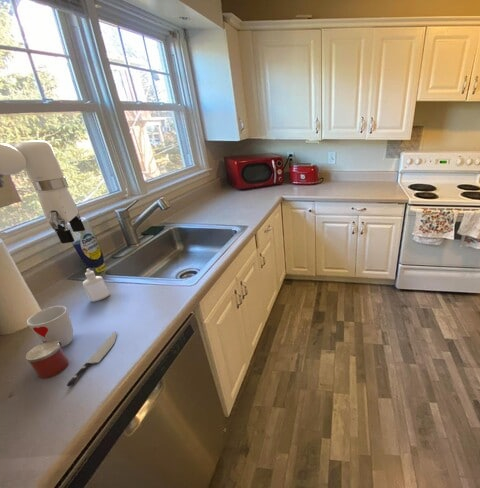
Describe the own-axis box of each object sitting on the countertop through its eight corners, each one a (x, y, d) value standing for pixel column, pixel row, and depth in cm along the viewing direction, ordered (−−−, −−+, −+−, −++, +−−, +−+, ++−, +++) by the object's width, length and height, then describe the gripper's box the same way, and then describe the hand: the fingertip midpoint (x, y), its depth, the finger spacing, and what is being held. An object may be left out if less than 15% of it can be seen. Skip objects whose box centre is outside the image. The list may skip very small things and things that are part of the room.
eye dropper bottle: (107, 299, 100) (95, 270, 94) (88, 303, 98) (75, 274, 93) (111, 292, 103) (99, 264, 98) (92, 296, 101) (79, 267, 96)
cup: (36, 348, 79) (19, 321, 75) (68, 329, 86) (54, 303, 82) (55, 356, 77) (38, 328, 72) (86, 335, 84) (73, 309, 79)
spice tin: (32, 381, 69) (20, 363, 67) (44, 363, 75) (33, 344, 72) (63, 373, 72) (52, 355, 69) (73, 356, 77) (63, 338, 74)
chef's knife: (125, 331, 85) (115, 331, 85) (124, 328, 85) (114, 328, 84) (79, 387, 68) (66, 387, 68) (77, 384, 67) (64, 384, 67)
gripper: (48, 179, 90) (70, 228, 97) (19, 193, 75) (47, 249, 83) (76, 177, 92) (96, 225, 100) (54, 190, 78) (78, 245, 85)
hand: (74, 236), depth 91 cm, fingers open, 9 cm apart
